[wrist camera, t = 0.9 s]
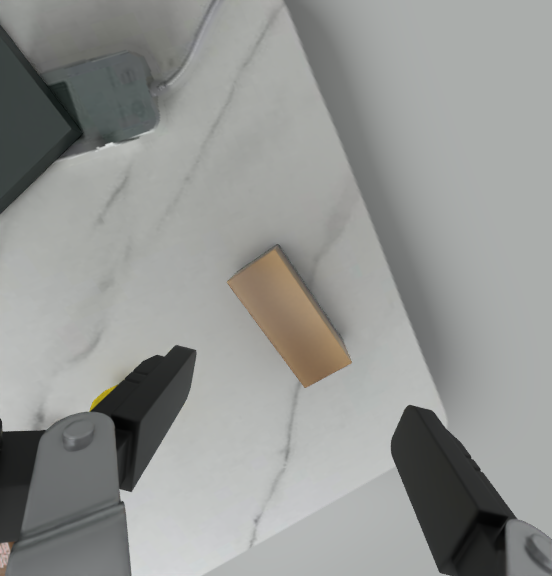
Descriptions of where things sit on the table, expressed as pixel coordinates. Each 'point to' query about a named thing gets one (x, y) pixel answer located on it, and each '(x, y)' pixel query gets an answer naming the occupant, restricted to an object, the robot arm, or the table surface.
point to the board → (27, 123)
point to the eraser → (290, 316)
